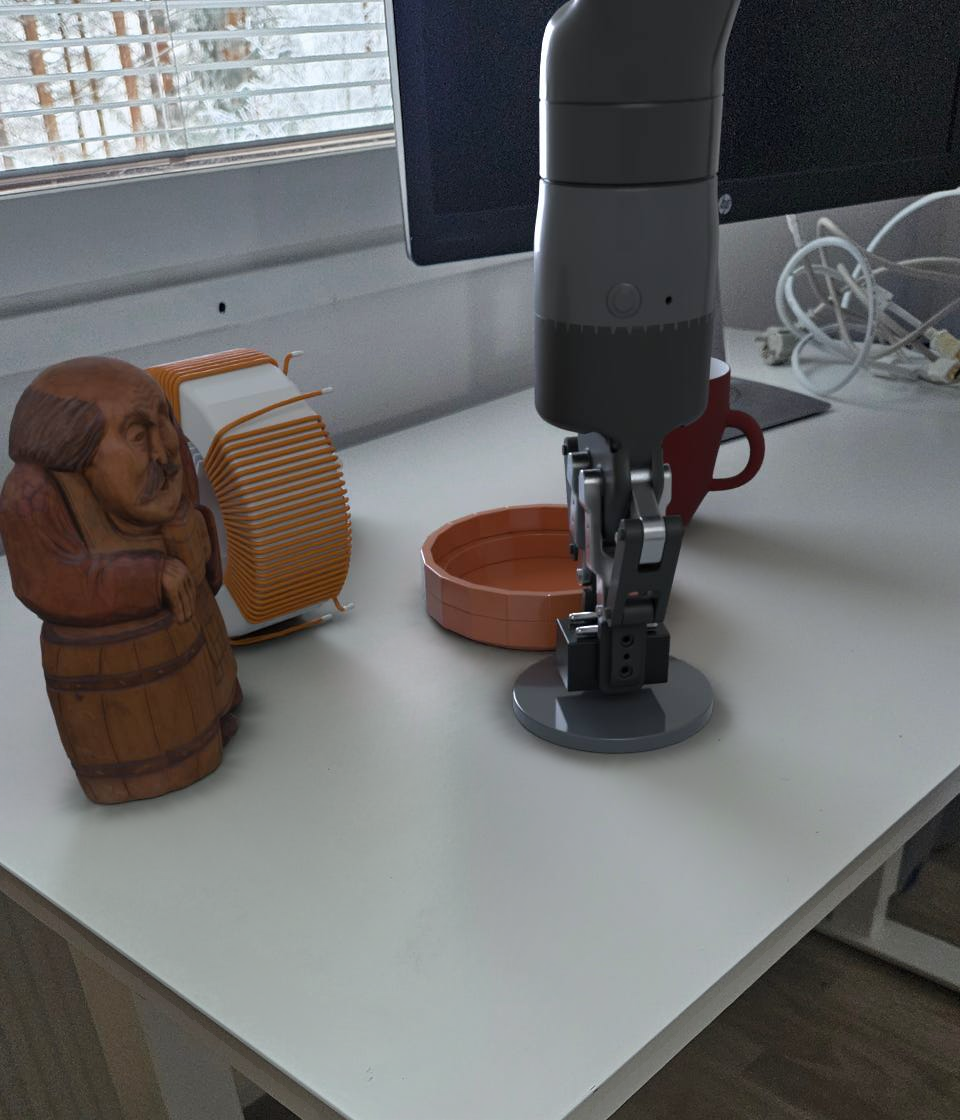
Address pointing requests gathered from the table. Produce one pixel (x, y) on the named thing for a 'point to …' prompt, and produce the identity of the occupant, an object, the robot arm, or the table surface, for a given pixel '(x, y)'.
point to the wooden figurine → (119, 579)
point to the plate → (613, 710)
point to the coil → (263, 487)
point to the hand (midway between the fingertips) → (611, 671)
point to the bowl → (503, 575)
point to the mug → (708, 448)
